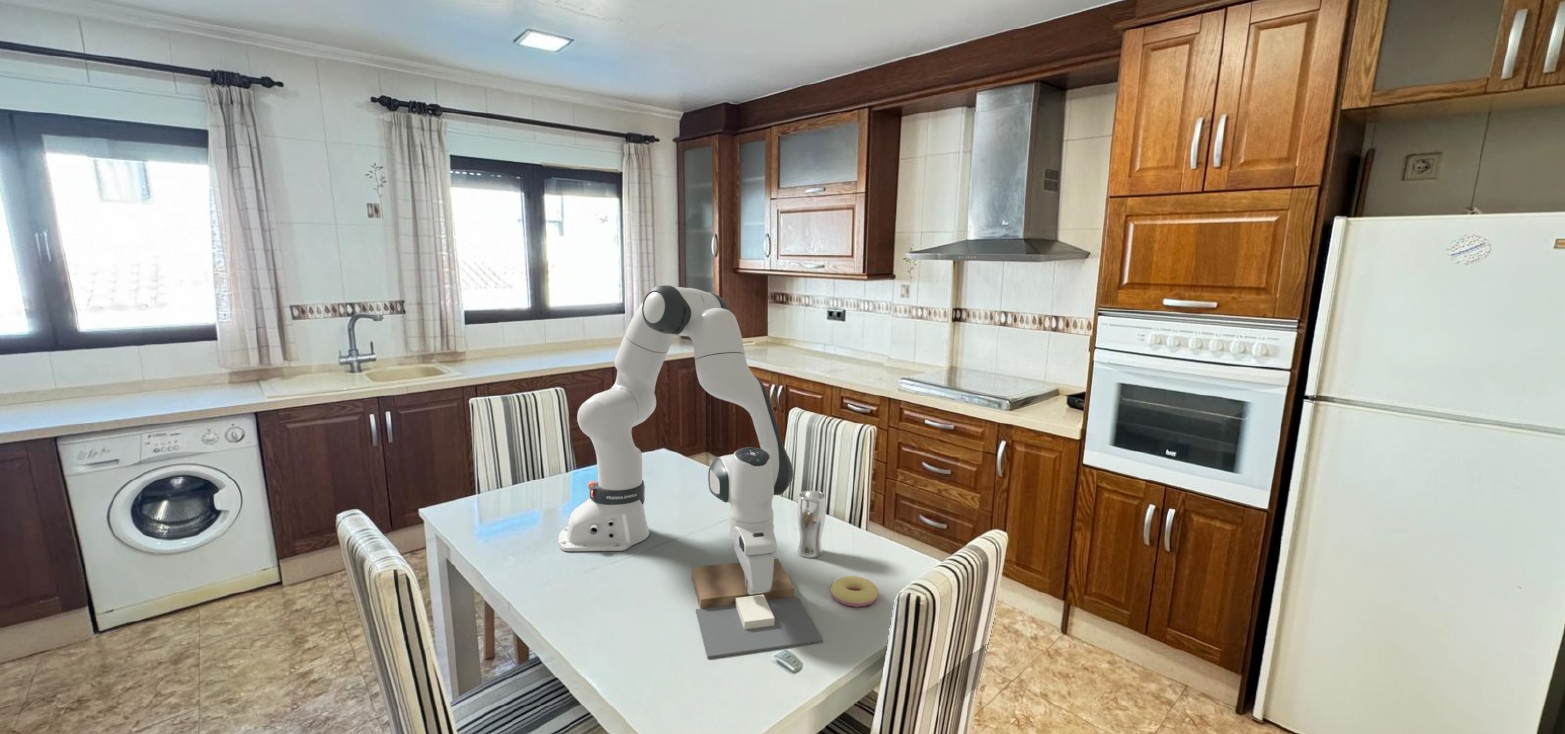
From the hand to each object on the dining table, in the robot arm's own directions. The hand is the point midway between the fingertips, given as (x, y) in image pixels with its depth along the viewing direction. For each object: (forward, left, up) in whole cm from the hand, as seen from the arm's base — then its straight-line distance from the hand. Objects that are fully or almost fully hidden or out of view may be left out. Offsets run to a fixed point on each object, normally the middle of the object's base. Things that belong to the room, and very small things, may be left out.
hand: (750, 590), depth 131 cm
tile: (0, -4, -3) cm, 5 cm away
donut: (+23, -1, -4) cm, 23 cm away
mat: (0, -7, -4) cm, 8 cm away
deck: (0, +8, -4) cm, 9 cm away
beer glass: (+20, +21, -4) cm, 29 cm away
